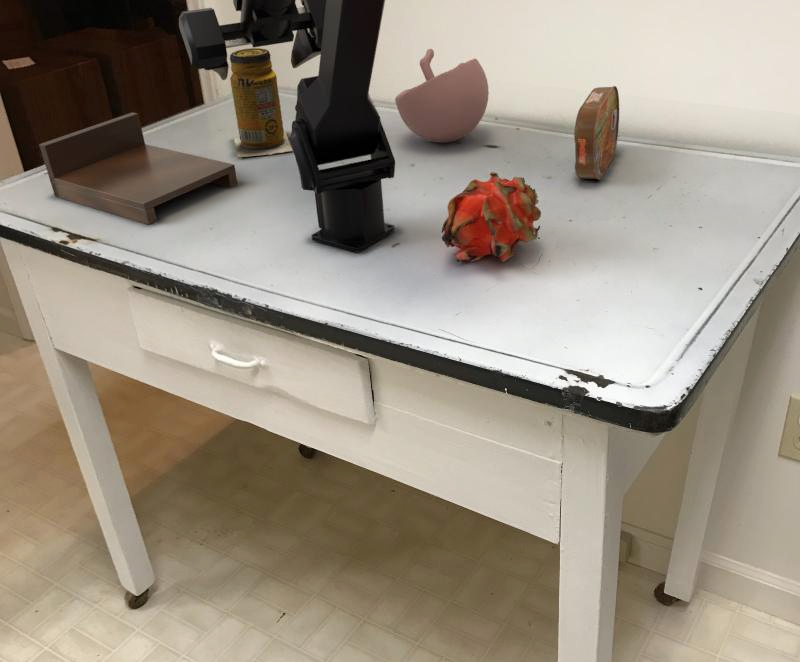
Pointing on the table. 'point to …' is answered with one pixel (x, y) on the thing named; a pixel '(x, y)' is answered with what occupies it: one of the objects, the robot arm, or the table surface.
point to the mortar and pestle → (445, 101)
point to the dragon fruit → (491, 218)
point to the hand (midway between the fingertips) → (258, 70)
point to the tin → (596, 132)
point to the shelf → (125, 169)
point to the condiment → (257, 104)
